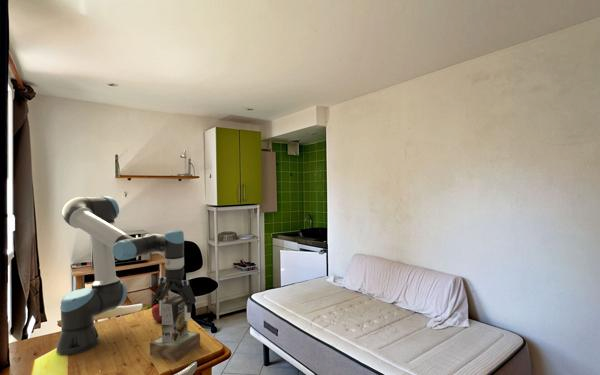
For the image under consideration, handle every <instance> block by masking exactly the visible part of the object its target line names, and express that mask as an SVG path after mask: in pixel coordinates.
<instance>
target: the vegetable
mask: <svg viewBox="0 0 600 375" xmlns="http://www.w3.org/2000/svg"><path fill="white" fill-rule="evenodd" d="M156 301H158V302H159V300H158V298H156ZM151 315H152V318H153V320H154V321H155V322H162V316H160V309H159V303H157V304H155V305H153V306H152V308H151Z"/></svg>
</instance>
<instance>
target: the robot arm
mask: <svg viewBox="0 0 600 375" xmlns="http://www.w3.org/2000/svg"><path fill="white" fill-rule="evenodd" d="M61 213H62V218H63V220H64V221H65V223H66V224H68V225H69V226H71V227H72V228H74V229H80V230H82V231H83V232H85V233H86V234H89V236H90V242H91V252H92V253H91V254H92V262H93V273H94V274H93V275H94V281H93V282H92V284H91V288H90V287H84V288H80V289H75V290H73V291H70V292H68V293H67V294H65V295H64V296H62V298H61V302H60V307H59V308H60V320H61V321H60V322H61V325H60V326H61V332H60V335H59V338H58V341H57V344H56V353H57V354H58V355H61V354H62V356H71V355H76V354H80V353H83V352H86V351H89V350H90V349H93V348H94V347H96V346H97V345H98V344H99V342H100V335H99V333H98V331H97V329H96V326H95V317H96V316H98V315H99V316H100V315H101V314H103V313H105V312H108V311H111V310H114V309H116V308H118V307H120V306H121V305H123V304H124V302H125V301H126V299H127V297H128V288H127V286H126V285H125V283H124V282H123V281H121V279H120V277H118V276H117V273H116V263H115V262H116V261H115V260H118V261H125V260H130V259H134V258H138V257H142V256H145V255H148V254H152V253H164V268H165V269H164V276H161V277H160V278H159V284H158V287H157V288H156V290H155V294H154V298H155V299H158V300H159V301H158V300H157V301H158V304H159V309H160V316H162V303H163V302H165V301H167V300H166V298H165V297H166V295H167V294H168V293H169V291H172V290H173V291H177V293H179V295H180V297H182V298H183V300H184V301H185V303H186V305H185V321H187V322H188V321H190V319H191V317H192V315H191V314H192V313H191V312H193V309H192V308H193V304H196V302H197V300H196V296H195V294H194V292H193V290H192V287H191V282H190V279H185V280H184V276H185V267H184V266H185V235H184V231H183V230H180V229H173V230H170V229H169V230H166V231H165V232H164V233H163V234H161V233H154V232H151V233H146V234H145V235H143V236H138V237H132V236H131V235H129V234H128V233H126V232H124V231H122V230H121V229H118V227H115V226H114V225H115V223H116V222H115V220H116V219H117V218H118V217H119V215H120V206H119V204H118V202H117V201H116V200H115V199H114V198H113V197H112V196H108V195H107V196H106V195H105V196H104V195H99V196H84V197H83V196H79V197H78V196H77V197H75V198H72V199H70V200H69V201H68V202H66V203H65V205H64V206H63V208H62V212H61Z"/></svg>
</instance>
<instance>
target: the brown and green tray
mask: <svg viewBox="0 0 600 375" xmlns="http://www.w3.org/2000/svg"><path fill="white" fill-rule="evenodd" d="M197 346H198V347H200V346H201V333H200V332H195V331H190V330H189V331H188V333H187V334H186V335H185V336H184V337H182V338H181V339H180V340H178V341H177V342H176V343H168V342H162V335H161V336H159V337H157V338H155V339H153V341H150V342H149V355H150V356H154V357H157V358H161V359H164V360H168V361H172V362H178V361H180V360H181V359H183V358H185V356H187V355H188V354H190V353H191V352H193V349H194V350H195V349H196V348H198V347H197Z"/></svg>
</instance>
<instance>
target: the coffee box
mask: <svg viewBox="0 0 600 375" xmlns="http://www.w3.org/2000/svg"><path fill="white" fill-rule="evenodd" d="M185 305H186V303H185V301H184V300H183V298H182V297H181V296H177V295H175V296H173V297H170V298H169V299H167V300H166V301H165V302H163V303H162V321H161V336H162V342H168V343H176V342H177V341H178V340H180V339H181V338H182V337H184V336H185V335H186V334H187V333H188V320H187V321H185Z"/></svg>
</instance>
